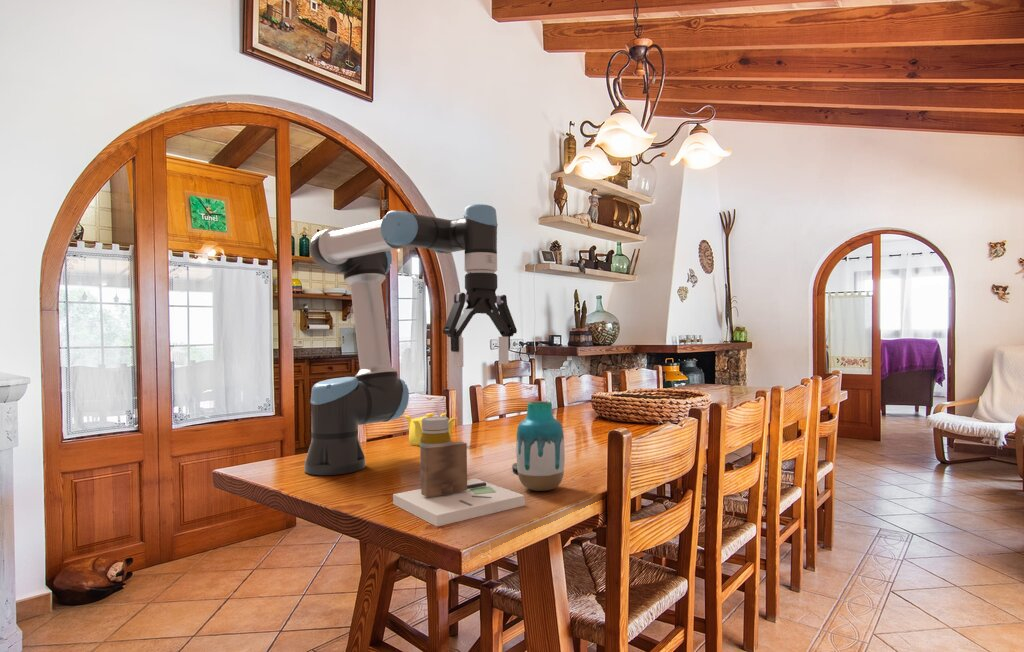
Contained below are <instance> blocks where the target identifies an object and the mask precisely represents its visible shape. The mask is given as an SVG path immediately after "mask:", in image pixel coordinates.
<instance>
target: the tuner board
mask: <svg viewBox="0 0 1024 652" xmlns="http://www.w3.org/2000/svg"><path fill="white" fill-rule="evenodd" d="M483 482H485V483H486V486H482V487H476V488H471V489H467V490H464V491H458V492H453V493H451V494H441V495H435V496H430V497H426V496H424V495H422V494H421V488H418V489H413V490H408V491H402V492H398V493H393V494H392V504H393V505H395V506H396V507H398V508H400V509H402V510H404V511H406V512H407V513H410V514H412V515H414V516H415V517H417V518H419V519H421V520H423V521H425V522H427V523H429V524H431V525H433V526H435V527H441V526H447V525H449V524H454V523H457V522H462V521H465V520H470V519H474V518H479V517H482V516H487V515H490V514H494V513H500V512H504V511H508V510H512V509H516V508H521V507H524V506H526V502H525V499H526V497H525V494H523V493H518V492H516V491H513V490H510V489H507V488H505V487H501V486H499V485H495V484H493V483H491V482H487V481H483V480H482V479H478V478H470V479H467V485H471V484H477V483H483Z"/></svg>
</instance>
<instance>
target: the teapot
mask: <svg viewBox="0 0 1024 652" xmlns="http://www.w3.org/2000/svg"><path fill="white" fill-rule="evenodd" d="M446 414H447V413H446V412H444V413H443V412H442V413H441V414H440V415H439V417H446ZM403 416H404V418H406V419H407V420H406V421H407V424H408V426H407V427H408V430H409V431H408V443H409V445H410V446H415V447H420V439H421V436H422V419H423V418H427V417H434V413H432V412H431V413H429V412H428V413H425V415H424V416H420V417H416V418H412V417H411V416H410V415H406V414H405V415H403ZM457 419H458V417H451V418H449V427H448V428H449V431H448V432H449V435H450V438H451V439H452V431H453V424H454V422H455V421H456V420H457Z"/></svg>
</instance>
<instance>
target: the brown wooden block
mask: <svg viewBox="0 0 1024 652" xmlns="http://www.w3.org/2000/svg"><path fill="white" fill-rule="evenodd" d="M467 448H468V446H467V442H463V441H456V442H455V441H453V442H451V443H445V444H437V445H429V446H421V457H420V489H421V494H422V495H424V496H426V497H430V496H435V495H441V494H451V493H453V492H458V491H464V490H467V489H471V488H476V487H482V486H486V483H485V482H486V481H484V482H483V483H477V484H471V485H467V480H468V451H467V450H468V449H467Z"/></svg>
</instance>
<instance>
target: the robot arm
mask: <svg viewBox="0 0 1024 652" xmlns="http://www.w3.org/2000/svg"><path fill="white" fill-rule="evenodd" d="M407 248H419V249H426V250H431V251H433V252H434V253H436V254H451V253H455V252H461V251H464V272H466V273H465V275H464V289H465V291H466V292H456V293H455V294H454V296H453V297H454V298H453V303H452V307H451V309H450V312H449V314H448V317H447V319H446V322H445V324H444V327H443V328H442V333H443V334H444V335H446V336H447V337H448V338H450V351H451V352H452V354H453V355H452V359H453V360H452V366H453V367H454V368H455V367H457V368H462V367H463V368H464V337H462V336H461V335H462V334H463V331H465V329H466V327H467V326H468V324H469V322H471V320H472V318H473V317H474V316H475V315H476V314H482V315H483V314H486V315H487V317H489V318H490V320H491V321H492V323H493V325H494V326H495V328H496V329H497V331H498V332H499V334H500V335H501V336H498V337H497V338H498V364H499V365H509V362H510V361H509V360H510V359H509V356H510V355H509V351H510V349H511V337H514V334H517V332H518V330H517V327H516V325H515V321H514V318H513V317H512V316H513V315H512V313H511V310H510V309H509V306H508V300H507V298H508V297H507V295H506V294H496V291H497V290H498V275H497V273H496V272H497V271H498V218H497V210H496V208H495V207H494V206H492V205H489V204H483V203H482V204H480V203H479V204H469V205H467V206H465V208H464V212H463V217H461V218H456V219H445V218H439V217H435V216H434V217H433V216H428V215H424V214H418V213H413V212H409V211H406V210H389V211H387V213H386V214H385V215H384V216H383V217H382V219H378V220H374V221H371V222H367V223H363V224H359V225H355V226H350V227H347V228H342V229H341V228H337V227H329V228H326V229H322V230H320V231H318V232H316V233H315V234H314V235H313V236H312V238H311V241H310V242H309V253H310V254H309V255H310V256H311V258H312V259H311V260H313V262H314V263H315V264H316V266H318V267H320V268H322V269H323V270H325V271H327V272H331V273H332V272H333V273H342V274H343V280H344V283H345V284H346V285H348V287H350V295H351V301H352V313H353V323H354V331H355V337H356V338H355V339H356V340H355V341H356V346H357V356H358V364H359V370H358V372H357V373H356V374H355V376H344V377H336V378H330V379H325V380H320V381H318V382H316V383H314V385H313V386H312V387H311V393H310V394H311V395H310V407H311V408H310V409H311V410H310V411H311V413H310V416H311V417H310V418H311V419H310V421H311V431H310V432H311V441H310V444H309V447H308V451H307V454H306V457H305V460H304V472H305V473H306V474H307V475H314V476H335V475H336V476H337V475H344V474H351V473H355V472H358V471H359V472H360V471H361V470H363V469H365V467H366V457H365V454H364V450H363V448H362V445H361V443H360V440H359V426H361V425H369V424H375V423H376V424H377V423H386V422H390V421H395V420H397V419H399V418H401V416H403V414H404V413H405V410H407V407H408V404H409V400H410V399H409V398H410V394H409V393H410V392H409V388H408V385H407V384H406V382H405V381H404V380H403V379H401V378H399V376H398V370H397V369H395V368H394V367H393V366H392V364H391V355H390V348H389V347H390V345H389V340H388V339H389V338H388V337H389V336H388V330H387V322H386V315H385V306H384V298H383V297H384V296H383V288H382V284H383V283H384V281H385V280H386V277H387V276H386V275H387V274H388V273H389V272H390V270H391V265H392V263H393V255H392V251H394V250H398V249H399V250H400V249H401V250H402V249H407ZM465 303H466V304H467V305H466V306H465Z"/></svg>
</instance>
